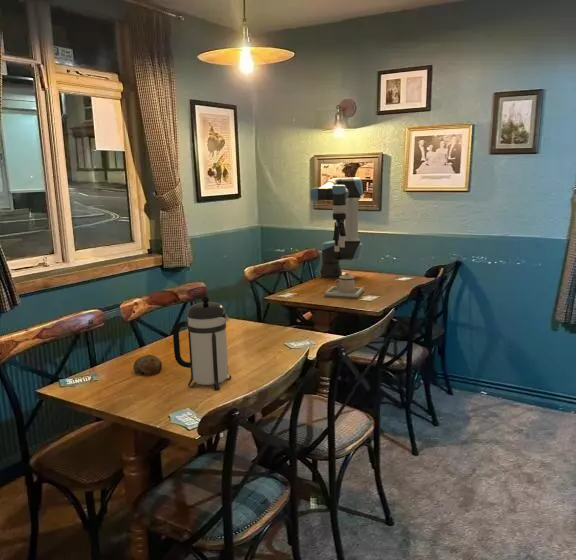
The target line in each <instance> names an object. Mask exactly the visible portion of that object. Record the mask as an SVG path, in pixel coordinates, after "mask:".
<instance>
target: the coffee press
mask: <svg viewBox="0 0 576 560" xmlns="http://www.w3.org/2000/svg"><path fill="white" fill-rule="evenodd" d="M201 301H202V302H197V303H194V304H192V305H191V306H189V308H188V310H187V312H186V318H187V320H184V321H180V322H178V323H177V324H176V325H175V326H174V328H173V331H172V335H173V336H172V341H173V352H174V358H175V361H176V362H177V363H178V365H179V366H180V367H183V368H187V369H190V380H189V382H188V383H187V385H188V387H189V389H193V388H194V387H195V386H196V385H197V384H198V385H204V386H205V385H206V386H208V385H209V386H211V385H213V389H214V391H218V390H219V391H220V389H221V388H220V386H221V385H220V383H222V382H224V381H225V380H229V381H230V380H231V379H232V375H230V373H229V370H228V369H229V367H228V349H227V348H228V347H227V329H226V328H227V323H228V322H229V321H230V320H229V317H228V315H227V310H226V309H225V308H224V306H223V305H222V304H221V303H218V302H214V301H210V298H209V296H203V297H202V298H201ZM185 327H187V331H188V347H189V349H188V350H189V361H185V360H184V359H183V358H182V356H181V348H180V347H181V345H180V343H181V342H180V330H181V329H182V328H185ZM228 375H229V377H228ZM192 382H193V383H192Z"/></svg>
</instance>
